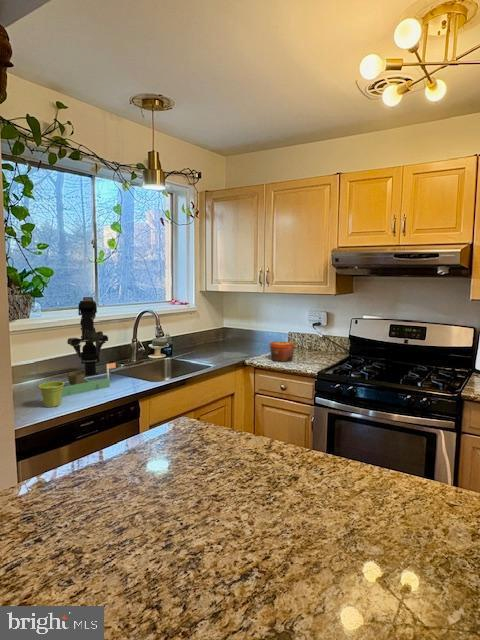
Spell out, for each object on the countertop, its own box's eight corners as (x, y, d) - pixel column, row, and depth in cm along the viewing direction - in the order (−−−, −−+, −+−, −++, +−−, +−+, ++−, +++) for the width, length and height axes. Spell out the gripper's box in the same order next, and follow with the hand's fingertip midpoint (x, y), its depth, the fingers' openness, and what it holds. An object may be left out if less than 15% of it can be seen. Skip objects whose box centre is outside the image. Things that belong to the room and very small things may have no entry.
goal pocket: (43, 392, 187) (41, 368, 186) (104, 380, 208) (103, 359, 207) (53, 398, 179) (52, 373, 177) (116, 385, 199) (115, 362, 198)
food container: (280, 356, 270) (280, 340, 269) (300, 360, 259) (300, 343, 257) (263, 360, 259) (264, 343, 258) (283, 364, 248) (284, 346, 246)
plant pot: (60, 408, 165) (59, 387, 164) (36, 409, 164) (34, 388, 163) (68, 401, 174) (67, 381, 173) (45, 402, 174) (44, 381, 173)
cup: (64, 390, 191) (63, 373, 190) (77, 386, 198) (76, 369, 197) (75, 392, 188) (75, 375, 187) (88, 388, 194) (88, 371, 193)
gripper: (76, 329, 194) (77, 362, 196) (113, 325, 207) (113, 356, 209) (66, 327, 202) (67, 358, 204) (102, 323, 215) (103, 353, 217)
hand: (88, 356), depth 208 cm, fingers open, 9 cm apart
